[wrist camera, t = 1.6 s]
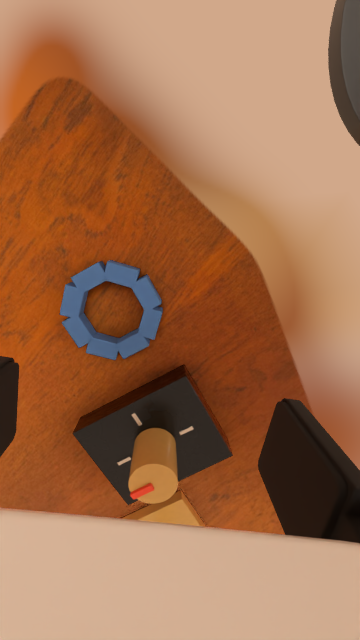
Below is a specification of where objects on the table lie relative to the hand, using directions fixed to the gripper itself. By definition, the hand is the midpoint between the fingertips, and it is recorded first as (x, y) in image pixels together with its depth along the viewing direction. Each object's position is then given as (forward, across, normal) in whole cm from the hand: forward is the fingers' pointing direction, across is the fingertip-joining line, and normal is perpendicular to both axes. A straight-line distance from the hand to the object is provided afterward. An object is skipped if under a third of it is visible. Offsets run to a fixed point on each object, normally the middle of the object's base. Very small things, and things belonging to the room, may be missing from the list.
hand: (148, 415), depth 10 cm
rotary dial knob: (+14, -2, +13) cm, 19 cm away
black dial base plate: (+16, -2, +13) cm, 21 cm away
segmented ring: (+16, +4, +1) cm, 17 cm away
